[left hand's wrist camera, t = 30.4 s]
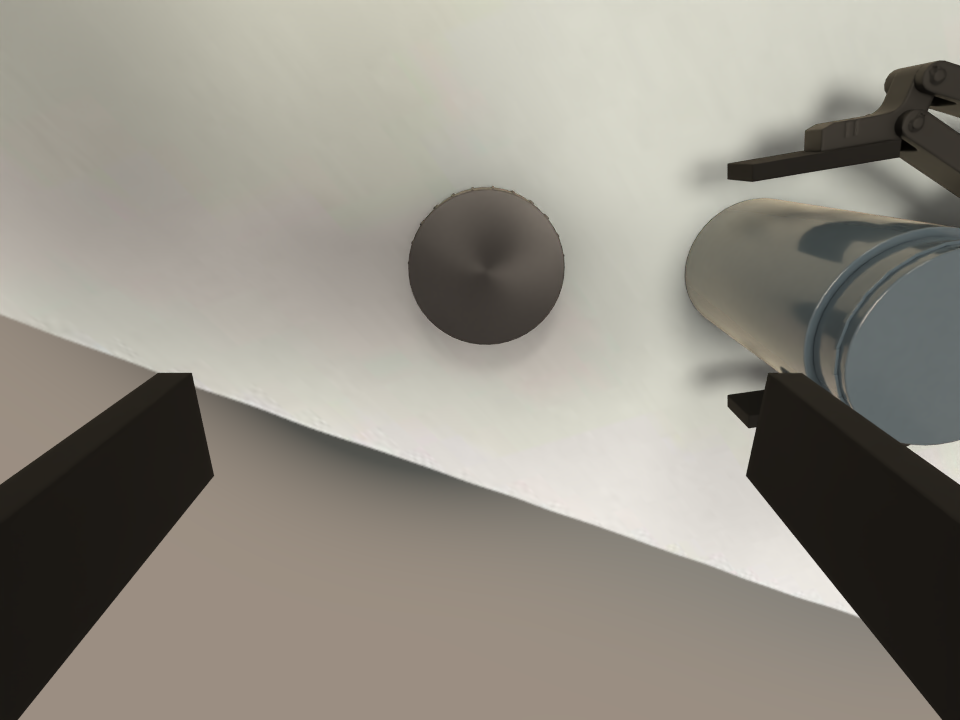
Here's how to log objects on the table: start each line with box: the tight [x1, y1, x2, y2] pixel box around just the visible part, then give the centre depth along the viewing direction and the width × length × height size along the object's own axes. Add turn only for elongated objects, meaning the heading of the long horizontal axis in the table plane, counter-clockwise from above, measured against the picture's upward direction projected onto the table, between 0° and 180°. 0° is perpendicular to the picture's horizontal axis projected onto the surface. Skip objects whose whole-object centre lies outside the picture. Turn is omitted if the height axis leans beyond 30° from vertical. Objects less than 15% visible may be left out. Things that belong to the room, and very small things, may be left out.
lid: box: [408, 186, 565, 345], centre depth 33 cm, size 9×9×2 cm
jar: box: [685, 198, 960, 445], centre depth 26 cm, size 8×8×16 cm
